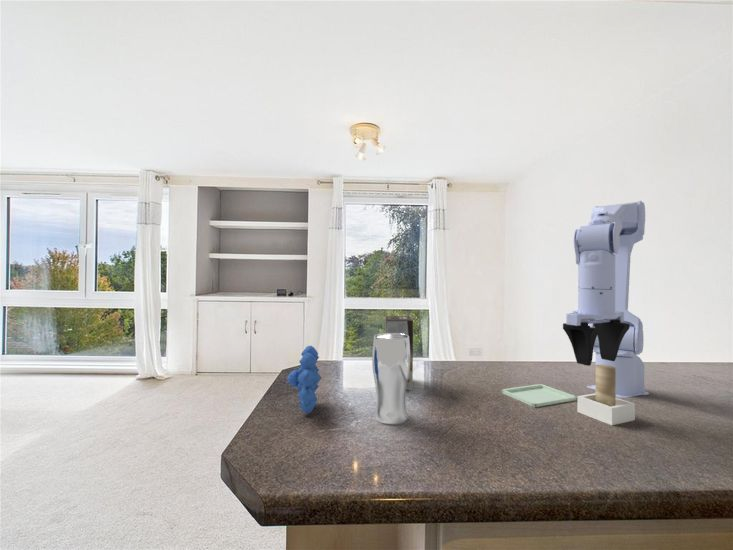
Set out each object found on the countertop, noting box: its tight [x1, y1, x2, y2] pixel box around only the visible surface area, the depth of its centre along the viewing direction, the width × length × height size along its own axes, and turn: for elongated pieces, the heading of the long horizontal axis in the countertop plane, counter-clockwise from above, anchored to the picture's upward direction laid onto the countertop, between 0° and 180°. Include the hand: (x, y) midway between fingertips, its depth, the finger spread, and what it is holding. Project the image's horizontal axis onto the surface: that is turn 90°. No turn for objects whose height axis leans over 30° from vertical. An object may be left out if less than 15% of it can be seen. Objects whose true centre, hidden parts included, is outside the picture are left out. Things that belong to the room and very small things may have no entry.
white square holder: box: [576, 392, 636, 426], centre depth 61 cm, size 6×6×4 cm
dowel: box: [594, 364, 617, 407], centre depth 61 cm, size 3×3×9 cm
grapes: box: [286, 345, 322, 414], centre depth 64 cm, size 12×7×12 cm, turn 5°
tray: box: [500, 383, 578, 408], centre depth 71 cm, size 12×9×1 cm
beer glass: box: [371, 332, 410, 426], centre depth 61 cm, size 7×7×15 cm
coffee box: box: [384, 315, 414, 391], centre depth 80 cm, size 9×6×16 cm
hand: (596, 362), depth 61 cm, fingers open, 7 cm apart
